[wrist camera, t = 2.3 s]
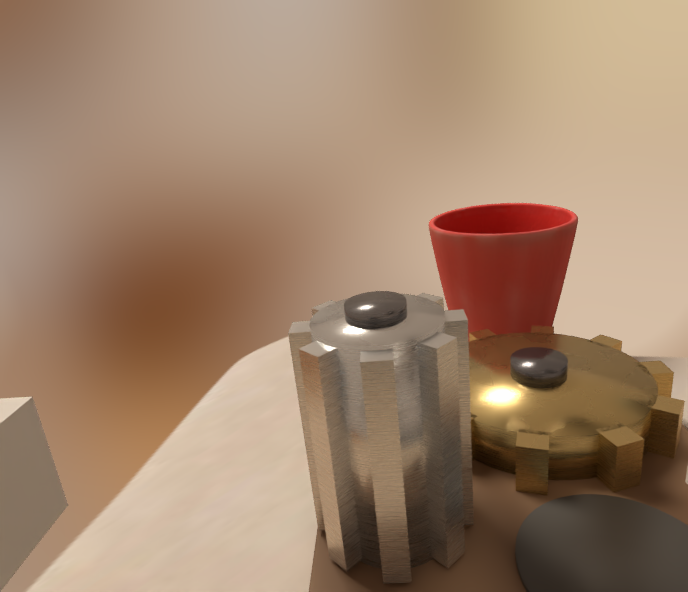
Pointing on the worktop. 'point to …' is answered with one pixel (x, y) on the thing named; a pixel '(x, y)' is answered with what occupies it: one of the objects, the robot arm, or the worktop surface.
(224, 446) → the worktop surface
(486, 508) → the gear board
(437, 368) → the grey pinion
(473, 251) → the flower pot
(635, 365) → the brass gear
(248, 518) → the worktop surface
